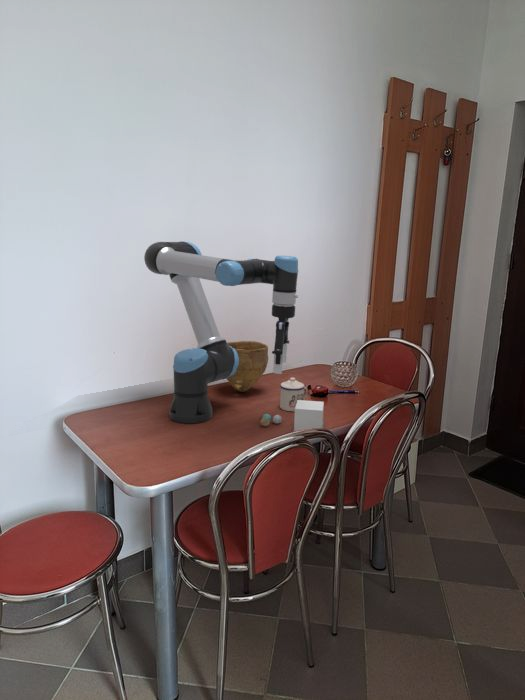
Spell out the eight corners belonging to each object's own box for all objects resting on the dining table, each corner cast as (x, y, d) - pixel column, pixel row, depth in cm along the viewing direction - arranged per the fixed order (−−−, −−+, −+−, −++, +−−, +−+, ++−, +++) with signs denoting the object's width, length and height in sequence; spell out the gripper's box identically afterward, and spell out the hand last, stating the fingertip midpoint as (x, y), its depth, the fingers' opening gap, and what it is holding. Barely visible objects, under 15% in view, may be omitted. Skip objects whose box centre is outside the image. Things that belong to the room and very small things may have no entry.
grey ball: (272, 424, 173) (272, 416, 173) (273, 421, 176) (273, 413, 175) (280, 425, 173) (281, 416, 172) (281, 422, 176) (282, 413, 175)
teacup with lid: (290, 413, 184) (291, 382, 182) (274, 406, 191) (275, 377, 189) (314, 407, 191) (315, 377, 189) (298, 401, 198) (299, 372, 196)
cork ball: (259, 427, 170) (260, 419, 170) (261, 424, 173) (261, 415, 173) (268, 428, 170) (269, 419, 169) (270, 424, 173) (270, 416, 172)
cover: (294, 431, 166) (294, 408, 165) (296, 421, 175) (297, 399, 173) (321, 433, 165) (322, 410, 163) (322, 423, 174) (323, 401, 172)
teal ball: (261, 423, 174) (261, 415, 173) (263, 420, 177) (263, 412, 176) (270, 424, 173) (270, 416, 173) (271, 421, 176) (271, 413, 176)
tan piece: (208, 395, 203) (208, 346, 199) (230, 382, 221) (230, 337, 217) (255, 402, 195) (256, 352, 191) (274, 388, 214) (276, 342, 209)
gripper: (292, 311, 151) (287, 379, 156) (298, 299, 175) (294, 359, 180) (267, 309, 152) (263, 377, 157) (276, 298, 176) (273, 357, 181)
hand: (279, 367), depth 168 cm, fingers open, 13 cm apart
